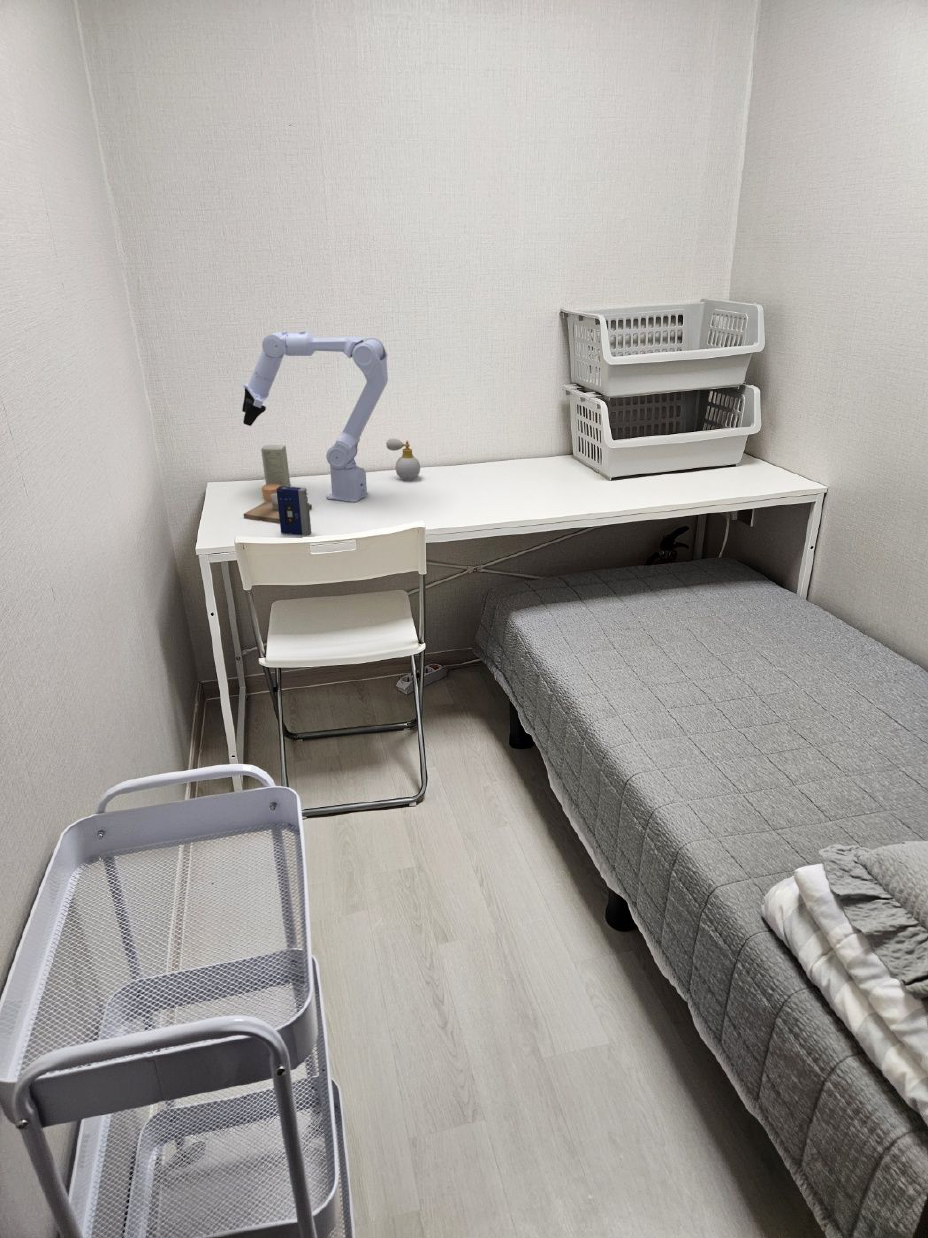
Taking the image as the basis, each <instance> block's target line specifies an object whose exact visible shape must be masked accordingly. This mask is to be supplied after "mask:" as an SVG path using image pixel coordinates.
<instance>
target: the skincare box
mask: <svg viewBox="0 0 928 1238" xmlns="http://www.w3.org/2000/svg"><path fill="white" fill-rule="evenodd" d="M260 450H261V460H262V466H263V473H264V479H265V480H264V481H265V485H267V484H279V485H281V486H285V487H291V480H290V471H289V470H290V469H289V464H288V463H289V461H288V455H287V448H286V445H281V444H277V445H276V444H275V445H272V444H271V445H270V444H269V445H268V444H266V445H264V446H263V447H262V448H260Z"/></svg>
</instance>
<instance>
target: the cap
mask: <svg viewBox="0 0 928 1238" xmlns="http://www.w3.org/2000/svg"><path fill="white" fill-rule="evenodd" d="M279 486H281V485H279V484H267V485H266V484H265V485H262V488H261V492H262V493H261V494H262V499H263V501H264V502H266V501H268V500H270V499H271V494H274V493H277V491H276V489H277V488H278V487H279Z"/></svg>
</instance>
